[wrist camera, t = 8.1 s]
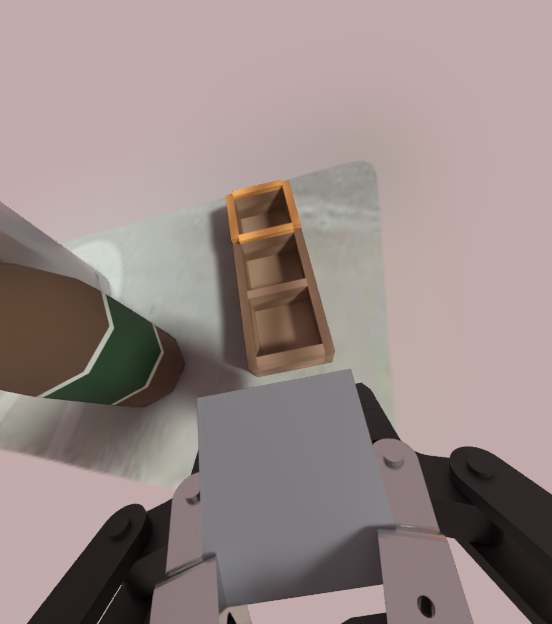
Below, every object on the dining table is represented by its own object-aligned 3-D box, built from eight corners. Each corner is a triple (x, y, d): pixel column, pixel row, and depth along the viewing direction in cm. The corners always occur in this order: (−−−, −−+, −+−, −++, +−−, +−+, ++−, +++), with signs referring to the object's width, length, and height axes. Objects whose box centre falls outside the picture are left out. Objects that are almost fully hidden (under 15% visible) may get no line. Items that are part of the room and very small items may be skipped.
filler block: (271, 492, 14) (204, 610, 5) (261, 412, 15) (196, 397, 7) (346, 480, 13) (410, 579, 5) (327, 400, 15) (351, 369, 6)
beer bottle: (121, 337, 29) (-489, 58, 7) (188, 328, 28) (-252, -15, 6) (109, 412, 25) (-1111, 333, 4) (185, 404, 25) (-758, 242, 3)
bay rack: (257, 377, 25) (246, 367, 21) (235, 218, 33) (224, 189, 29) (332, 362, 24) (335, 349, 20) (290, 205, 33) (286, 174, 29)
